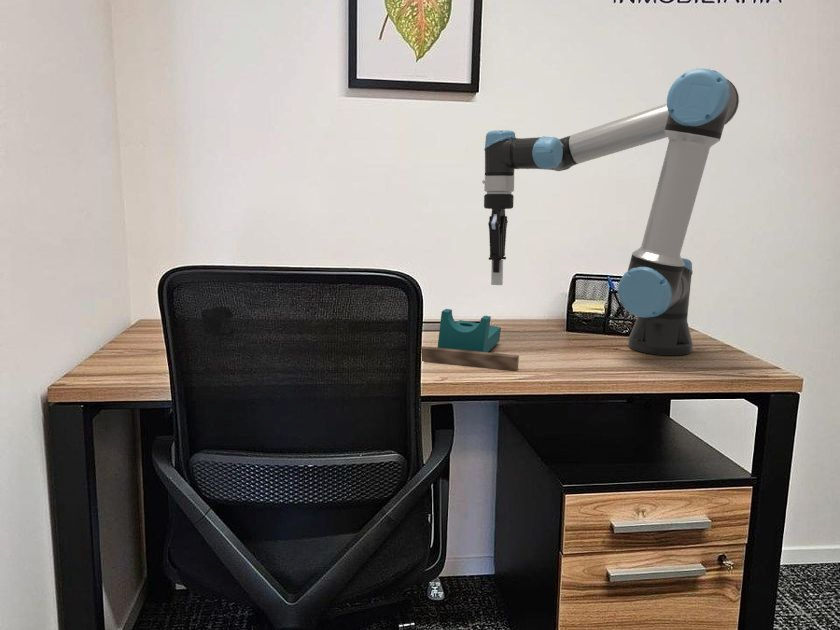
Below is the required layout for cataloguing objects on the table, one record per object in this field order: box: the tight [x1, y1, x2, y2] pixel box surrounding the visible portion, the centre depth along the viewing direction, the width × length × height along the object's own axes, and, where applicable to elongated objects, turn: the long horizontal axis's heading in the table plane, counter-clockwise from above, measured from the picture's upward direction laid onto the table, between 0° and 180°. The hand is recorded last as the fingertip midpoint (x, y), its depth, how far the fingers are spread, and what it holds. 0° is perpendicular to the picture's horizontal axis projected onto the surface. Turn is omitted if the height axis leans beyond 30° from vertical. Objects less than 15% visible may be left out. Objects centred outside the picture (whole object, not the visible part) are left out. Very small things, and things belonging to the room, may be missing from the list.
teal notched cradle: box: [437, 308, 502, 353], centre depth 167 cm, size 18×11×10 cm, turn 161°
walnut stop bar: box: [421, 345, 520, 372], centre depth 154 cm, size 22×2×3 cm, turn 72°
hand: (496, 284), depth 181 cm, fingers closed
